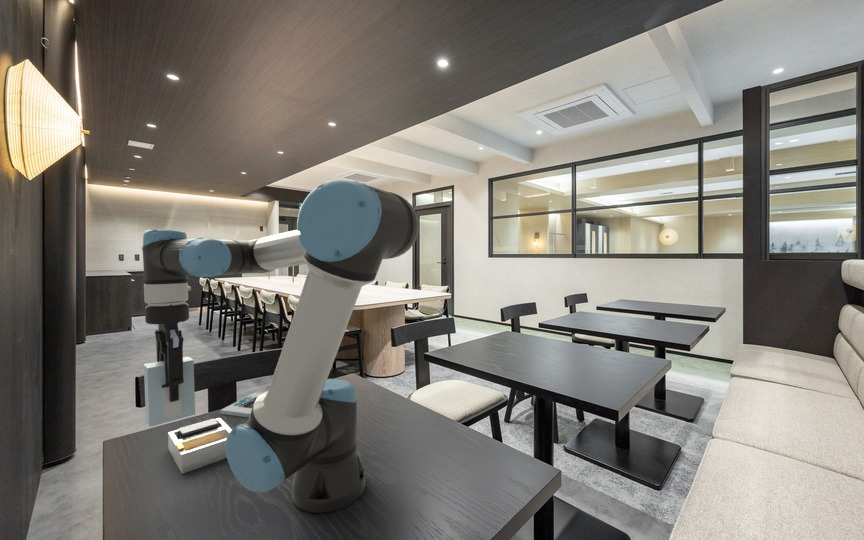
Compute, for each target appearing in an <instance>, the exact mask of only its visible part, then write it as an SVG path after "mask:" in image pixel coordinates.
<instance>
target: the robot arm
mask: <svg viewBox="0 0 864 540" xmlns="http://www.w3.org/2000/svg"><path fill="white" fill-rule="evenodd" d="M419 228H420V227H419V217H418V214H417V212H416V210H415V208H414V206H412V203H410V202H409V200H408V199H406V198H404V197H402V195H399V194H397V193H395V192H394V193H393V192H391V191H387V190H384V189H381V188H377V187H374V186H371V185H367V184H366V183H362V182H358V181H356V180H355V181H354V180H346V179H331V180H327V181H326V182H324V183H322V184H319V185H318V186H316V187H315V188H314V189H312V190H311V191H310V193H308V194H307V196H306V197H305V198H304V200H303V203H302V204H301V206H300V208H299V211H298V213H297V221H296V229H294V230H290V231H285V232H281V233H276V234H271V235H269V236H268V235H267V236H263V237H259V238H255V239H250V240H247V239H246V240H240V239H239V240H236V239H216V238H211V237H196V238H188V237H187V233H186V232H185V231H184V230H178V229H147V230H146V231H144V232H143V234H142V235H143V236H142V237H143V238H142V247H141V250H142V262H143V263H142V264H143V280H144V283H143V294H144V295H143V296H144V297H143V298H144V303H145V304H147V305H146V306H145V307H144V313H145V314H144V316H145V320H144V321H145V323H146V324H148V325H155V326H156V325H158V329H155V330H154V335H155V345H156V347H155V348H156V362H159V361H164V365H165V379H166V383H165V384H164V385H161V386H162V388H164V390H165V417H166V418H168V417H172V416H176V415H179V414H182V408H181V383H183V381H184V379H183V357H184V355H183V354H184V353H183V352H184V350H183V349H184V348H183V347H184V340H185V339H184V337H183V333H182V330H181V329H179V325H178V324H179V323H181V322H182V323H184V322H186V321H188V320H189V319H190V305H189V304H188V300H189V291H191V290H192V287H191V286H189V277H198V278H210V277H211V278H212V277H217V276H225V275H227V276H228V275H239V274H241V275H242V274H266V273H271V272H274V271H276V270H279V269H284V268H285V269H286V268H291V267H295V266H296V267H297V266H302V265H306V266H307V268H308V273H307V276H306V278H305V280H304V285H303V287H302V289H301V292H300V296H299V298H298V302H297V305H296V307H295V310H294V314H293V316H292V319H291V322H290V326H289V328H288V331H287V334H286V337H285V339H284V343H283V346H282V349H281V352H280V356H279V358H278V361H277V362H276V363H277V364H276V367H275V369H274V373H273V376H272V378H271V382H270V385H269V386H268V387H269V388H268V390H265V391H264V392H261V393H262V394H261V395H259V397H258V398H257V399H256V401H254V402H253V406H252V407H251V408H252V411H251V414H250V417H248V419H247V421H246V422H244V423H240V424H238V425H236V426H235V428H233V429H232V430H231V431H230V433H229V434H228V436H227V439H226V447H225V448H226V456H227V458H226V459H227V463H228V465H229V468H230V470H231V472H232V474H233V475H234V476H235V478H236V479H237V481H238V482H239V483H240V484H241V485H242V486H243V487H244V488H245V489H247V490H249V491H251V492H253V493H266V492H268V491H270V490H272V489H274V488H275V487H276V486H279V485H281V484H283V483H284V482H285V481H286V480H287V479H288V478H289V479H290V477H291V476H293V475H294V477H293V480H292V483H291V501H292V503H293V504H294V505H295V506H296V507H297V509H299V510H301V511H304V512H307V513H313V514H323V513H324V514H325V513H331V512H336V511H339V510H341V509H344V508H346V507H349V506H350V505H351V504H353V503H355V502H356V501H357V500H358V499H359V498H360V497H361V496H362V495H363V493H364V491H365V489H366V471H365V469H364V466H363V463H362V460H361V457H360V455H359V452H358V446H357V444H358V442H357V441H358V438H357V437H358V434H357V433H358V430H357V429H358V423H357V421H358V420H357V405H358V404H357V403H358V399H357V390H356V386H355V385H354V384H353V383H352V382H351V381H347V380H343V379H338V378H337V379H336V378H329V375H330V372H331V370H332V367H333V364H334V362H335V360H336V357H337V354H338V352H339V348H340V346H341V342H342V340H343V338H344V335H345V333H346V330H347V327H348V325H349V321H350V319H351V317H352V314H353V311H354V309H355V306H356V304H357V300H358V299H359V298H358V297H359V295H360V292H361V290H362V287H364V286H366V285H368V284H370V283H373V282H374V281H375V279H376V277H377V274H378V271H379V269H380V267H381V264H382V261H383V260H388V259H389V260H390V259H395V258H399V257H400V256H402V255H404V254H406V253H407V252H408V251H410V249H411V248H412V247H413V246H414V244H415V243H416V240H417V238H418V234H419V230H420V229H419Z"/></svg>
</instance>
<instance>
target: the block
mask: <svg viewBox="0 0 864 540" xmlns="http://www.w3.org/2000/svg"><path fill="white" fill-rule="evenodd" d="M194 360H195V359H193V358H191V356H183V379H184V381H183V383H181V408H182V414H179V415H176V416H172V417H168V418H166V417H165V390H164V388H162V386H161V385H164V384H165V383H166V379H165V365H164V361H159V362H157V361H155V362H149V363H144V364H143V376H144V377H143V378H144V380H143V381H144V404H145V405H144V407H145V409H144V410H145V411H144V412H145V421H146V424H147V425H148V427H154V426H158V425H161V424H164V423H168V422H172V421H176V420H179V419H183V418H187V417H191V416H193V415H194V416H195V415H196V403H195V402H196V397H195V394H196V393H195V366H194V365H195V362H194Z"/></svg>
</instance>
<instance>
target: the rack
mask: <svg viewBox="0 0 864 540" xmlns="http://www.w3.org/2000/svg"><path fill="white" fill-rule="evenodd" d="M231 430H233V429H232V428H231V427H230V426H229V425H228V424H227V423H226V422H225V421H224V420H223V419H222V418H221V417H217V418H210V419H207V420H204V421H200V422H196V423H192V424H189V425H185V426H182V427H179V428H178V429H176V430H172V431H168V432H167V436H168V437H167V438H168V439H167V443H168V451H169V453H170V455H171V457H172V458H173V461H174V462H175V464H176V466H177V467H178V469H179V472H180V473H181V475H182V474H185V473H189V472H191V471H194V470H197V469H200V468H203V467H205V466H207V465H211V464H213V463H216V462H217V463H218V462H219V461H222V460H225V459H227V456H226V448H225V447H226V439H227V436H228V434H229V433H230V431H231Z"/></svg>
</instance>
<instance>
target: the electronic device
mask: <svg viewBox="0 0 864 540" xmlns="http://www.w3.org/2000/svg"><path fill="white" fill-rule="evenodd" d="M262 393H263V392H253V393H251V394H249V395H247V396H245V397H243V398H242V399H241V398H240V399H239V400H237V401H235V402H233V403H231V404H230V405H227V406H225V407H223V408H222V409H220V414H221V415H225V414H226V415H227V416H233V417H242V418H249V417H250V414H251V411H252V408H253V407H245V406H243V405H246V406H248V405H247V404H244V403H248V402H252V403H254V402H255V401H256V399H257V398H258V397H259V395H261V394H262ZM253 401H254V402H253ZM241 404H243V405H241Z"/></svg>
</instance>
